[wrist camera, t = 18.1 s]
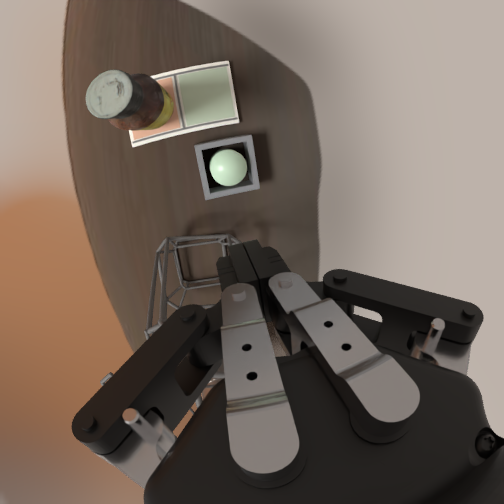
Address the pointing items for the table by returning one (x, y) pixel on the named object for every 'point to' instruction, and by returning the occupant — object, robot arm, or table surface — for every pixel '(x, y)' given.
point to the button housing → (251, 165)
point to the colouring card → (194, 101)
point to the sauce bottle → (129, 100)
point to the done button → (227, 167)
